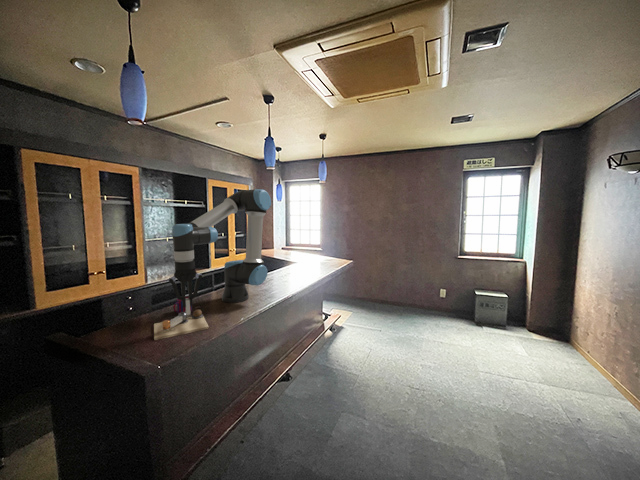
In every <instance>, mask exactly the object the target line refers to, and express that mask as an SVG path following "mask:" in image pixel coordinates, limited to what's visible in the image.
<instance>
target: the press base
mask: <svg viewBox="0 0 640 480" xmlns="http://www.w3.org/2000/svg"><path fill="white" fill-rule="evenodd" d="M162 322H163V321H161V322H156V323H154V324H153V339H154V341H157V340H162V339H167V338H172V337H177V336H181V335H185V334H190V333H196V332H200V331H204V330H209V328H210V327H209V325H208V322H207V321H206V318H205V316H204V314H203V312H202V310H201V309H195V310H194V311H193V313H192V315H191V316H190V317H189V318H187V321H184V322H180V323H179V324H177V325H175V326H174V327H172V328H170V329H168V330H163V324H162Z"/></svg>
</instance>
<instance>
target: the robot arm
mask: <svg viewBox="0 0 640 480" xmlns="http://www.w3.org/2000/svg"><path fill="white" fill-rule="evenodd" d="M271 206H272V198H271V196H270V194H269V192H268V191H266V190H265V189H260V188H259V189H258V188H254V189H242V190H238V191H237V192H235V193H233V194H231V195H229V196H228V197H226V198H224V200H223V202H222V203H220V204H218V205H216V206H215V207H213V208H211V209H210V210H209V211H207V212H205V213H204V214H202V215H200V216H198V217H196V218H195V219H194V220H192V221H190V222H188V223H177V224H173V226H172V234H171V235H172V245H173V258H174V274H173V275H172V276H171V277H169V278H168V282H169V283H170V284H171V286H172V288H173V290H174V293H175V296H176V300H177V299H178V300H182V305H183V308H184V307H186V315H190V306H192V307H193V304H194V303H193V299H194V298H197V297H198V291H199V287H200V283H201V282H200V281H201V280H202V278H203V275H202V274H201V273H198V272H197V270H196V264H195V262H196V261H195V248H194V247H195V246H198V245H203V244H204V245H205V244H206V245H207V244H213V243H215V242H217V241H218V237H219V234H218V231H217V229H216V228H215V227H214V226H215V225H217V224H218V223H220V222H222V220H224V219H226V218H228V217H229V216H230V215H232V214H236V213H238V212H240V211H241V212H242V211H244V213H245V214H246V215H247V222H246V223H247V224H246V225H247V226H246V227H247V229H246V242H245V243H246V246H245V258H244V259H238V260H237V259H235V260H229V261H225V263H224V268H223V270H224V271H223V273H224V289H223V292H222V294H221V295H222V296H221V301H222V302H224V303H231V304H235V303H241V302H244V301H247V300H249V296H250V295H249V291H248V289H247V286H246V285H249V286H261V285H263V283H264V282H265V281H266V279H267V276H268V268H267V266H265V265H264V260H263V259H262V252H263V251H262V249H263V248H262V247H263V245H262V244H263V231H264V230H263V229H264V228H263V227H264V217H265V215H266V214H267V211H268V210H269V209H270V208H271ZM194 278H195V282H194V283H195V284H194V289H193V285H192V281H193V279H194ZM176 279H177V281H179V282H180V288H181V295H180V292H179V290H178V286H177V284H176ZM186 282H187V291H188V293H187V294H188V297H189V298H186V297H187V296H186V285H185V283H186Z"/></svg>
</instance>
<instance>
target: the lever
mask: <svg viewBox="0 0 640 480" xmlns="http://www.w3.org/2000/svg"><path fill="white" fill-rule="evenodd" d="M191 312H192V311H190V315H186V312H181V313H178V315H177V316H175V317H174V318H171V319H164V320H162V321H161V322H162V324H163V330H168V329H170V328H172V327H174V326H175V325H177V324H179V323H180V322H184V321H187V318H189V317H192V313H191Z"/></svg>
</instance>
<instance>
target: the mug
mask: <svg viewBox="0 0 640 480" xmlns="http://www.w3.org/2000/svg"><path fill="white" fill-rule="evenodd" d="M185 297H186V298H189V296H185ZM176 308H177V309H176ZM172 309H173V312H175V313H177V314H179V313H181V312H186V307H184V308H183V305H182V300H178V299H177V298H176V302H175V303H174V304H173V308H172ZM190 311H191V312H192V311H193V305H192V306H190Z"/></svg>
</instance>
